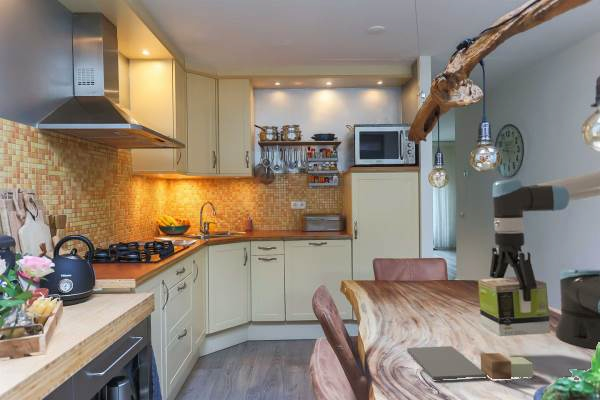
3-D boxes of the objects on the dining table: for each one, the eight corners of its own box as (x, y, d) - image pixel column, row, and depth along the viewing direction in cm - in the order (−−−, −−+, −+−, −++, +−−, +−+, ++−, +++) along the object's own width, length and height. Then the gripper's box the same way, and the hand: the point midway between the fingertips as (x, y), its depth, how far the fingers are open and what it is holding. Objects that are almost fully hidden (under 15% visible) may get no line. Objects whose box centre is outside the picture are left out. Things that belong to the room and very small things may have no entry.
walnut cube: (499, 371, 93) (498, 352, 93) (511, 381, 88) (510, 361, 88) (481, 372, 93) (480, 353, 93) (492, 381, 88) (491, 361, 88)
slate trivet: (451, 350, 107) (451, 346, 107) (486, 378, 89) (486, 374, 89) (407, 351, 106) (407, 348, 106) (433, 381, 88) (433, 376, 88)
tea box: (526, 323, 108) (524, 275, 109) (551, 334, 98) (548, 282, 99) (479, 325, 108) (477, 277, 108) (499, 337, 98) (497, 284, 98)
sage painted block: (522, 372, 93) (522, 356, 93) (533, 379, 89) (532, 363, 89) (500, 372, 93) (500, 357, 93) (510, 380, 89) (509, 364, 89)
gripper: (475, 230, 115) (478, 297, 114) (523, 235, 92) (527, 319, 92) (497, 229, 115) (500, 296, 115) (550, 234, 93) (554, 318, 92)
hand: (512, 306), depth 103 cm, fingers closed on tea box, 10 cm apart
